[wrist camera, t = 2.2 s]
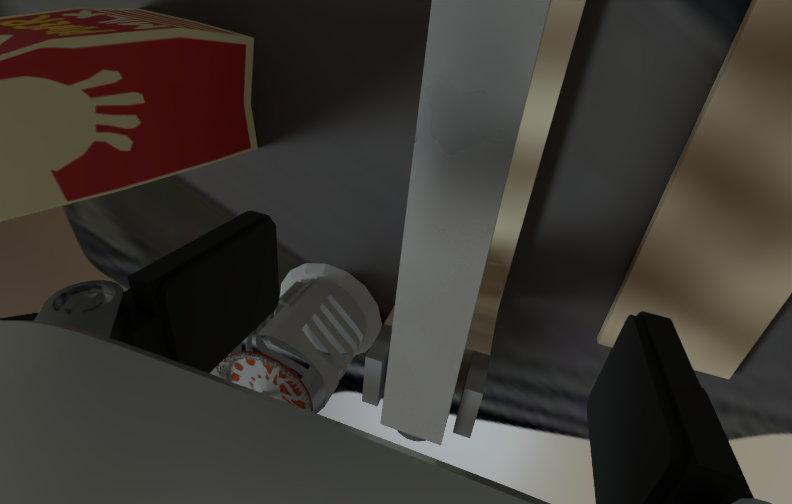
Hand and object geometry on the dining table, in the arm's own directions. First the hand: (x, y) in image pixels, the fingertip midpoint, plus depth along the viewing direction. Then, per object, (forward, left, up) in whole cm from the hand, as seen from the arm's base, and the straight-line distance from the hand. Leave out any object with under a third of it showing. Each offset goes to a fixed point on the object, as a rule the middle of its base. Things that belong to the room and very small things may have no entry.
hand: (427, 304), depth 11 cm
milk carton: (0, -21, -17) cm, 27 cm away
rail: (0, 0, -7) cm, 7 cm away
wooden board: (0, +14, -17) cm, 22 cm away
